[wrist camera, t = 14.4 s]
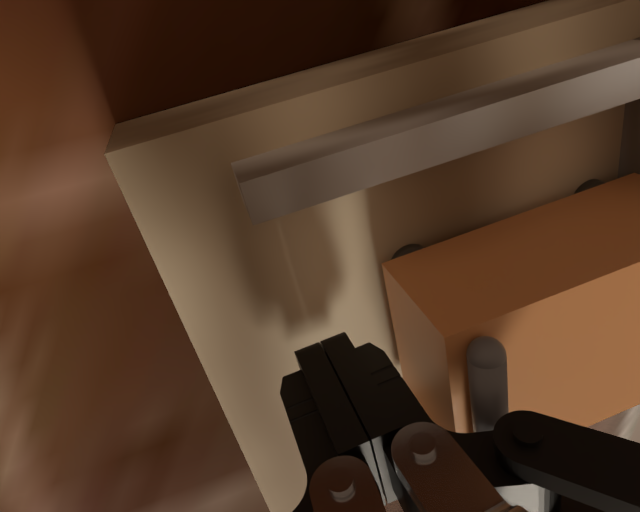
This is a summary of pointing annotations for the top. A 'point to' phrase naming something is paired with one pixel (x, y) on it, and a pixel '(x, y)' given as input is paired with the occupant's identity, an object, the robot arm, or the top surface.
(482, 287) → the orange box with handle
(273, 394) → the dock
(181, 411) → the top surface
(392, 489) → the robot arm
